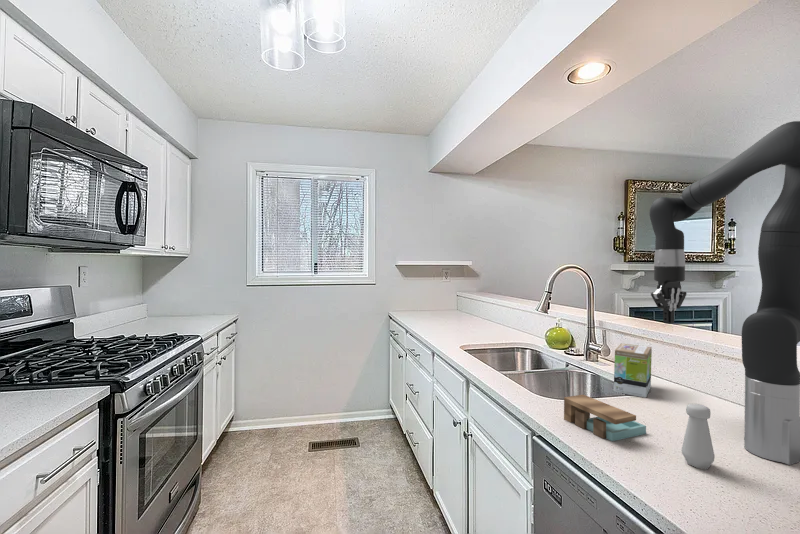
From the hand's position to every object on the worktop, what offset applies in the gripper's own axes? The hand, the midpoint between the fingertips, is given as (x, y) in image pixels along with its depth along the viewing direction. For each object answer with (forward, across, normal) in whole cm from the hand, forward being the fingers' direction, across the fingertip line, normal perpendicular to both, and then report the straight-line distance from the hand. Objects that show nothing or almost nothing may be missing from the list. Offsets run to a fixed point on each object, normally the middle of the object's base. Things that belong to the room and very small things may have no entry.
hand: (668, 323), depth 114 cm
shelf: (+26, -30, -1) cm, 40 cm away
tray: (+27, -26, -3) cm, 38 cm away
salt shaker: (+26, -25, -22) cm, 43 cm away
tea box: (+27, +9, +18) cm, 33 cm away
